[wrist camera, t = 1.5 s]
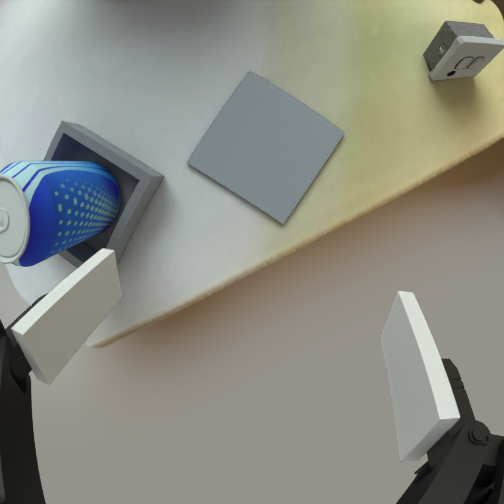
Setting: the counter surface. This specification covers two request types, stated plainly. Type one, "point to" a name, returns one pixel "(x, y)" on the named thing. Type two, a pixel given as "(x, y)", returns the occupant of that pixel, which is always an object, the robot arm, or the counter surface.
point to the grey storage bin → (148, 177)
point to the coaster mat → (266, 146)
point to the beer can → (53, 207)
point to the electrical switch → (461, 50)
